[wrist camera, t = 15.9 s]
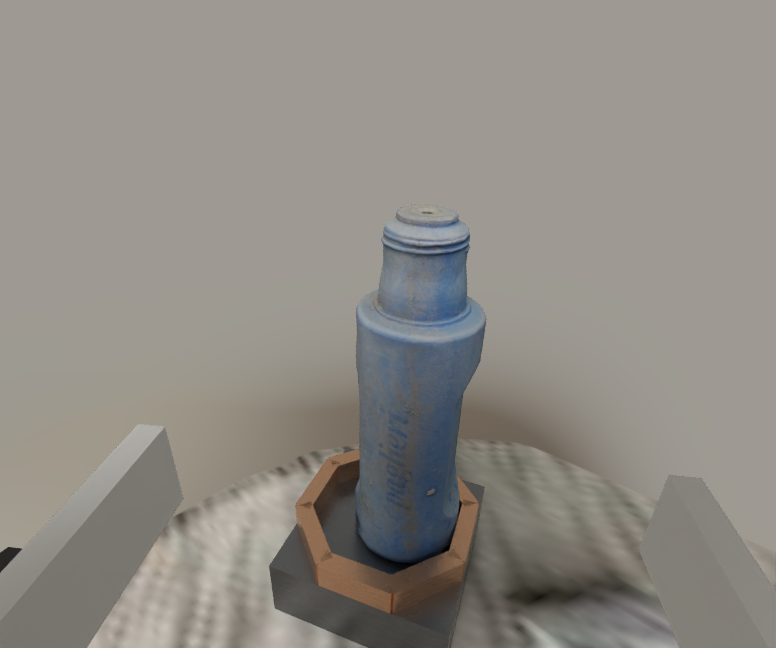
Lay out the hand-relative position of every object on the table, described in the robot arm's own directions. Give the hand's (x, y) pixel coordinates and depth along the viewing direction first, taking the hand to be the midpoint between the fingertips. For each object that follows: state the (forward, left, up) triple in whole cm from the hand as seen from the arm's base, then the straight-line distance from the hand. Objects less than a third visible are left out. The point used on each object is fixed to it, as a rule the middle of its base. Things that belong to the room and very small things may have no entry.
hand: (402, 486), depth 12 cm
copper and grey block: (+7, -20, -34) cm, 40 cm away
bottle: (+6, -21, -28) cm, 35 cm away
